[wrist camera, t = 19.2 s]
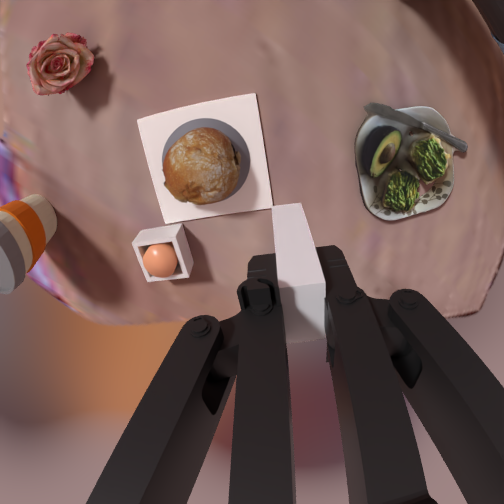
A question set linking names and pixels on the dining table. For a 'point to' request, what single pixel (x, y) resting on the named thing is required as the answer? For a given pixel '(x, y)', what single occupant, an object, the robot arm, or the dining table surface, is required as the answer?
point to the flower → (59, 63)
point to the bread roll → (201, 167)
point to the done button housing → (161, 236)
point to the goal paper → (242, 138)
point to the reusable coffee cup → (23, 237)
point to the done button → (160, 259)
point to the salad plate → (404, 160)
